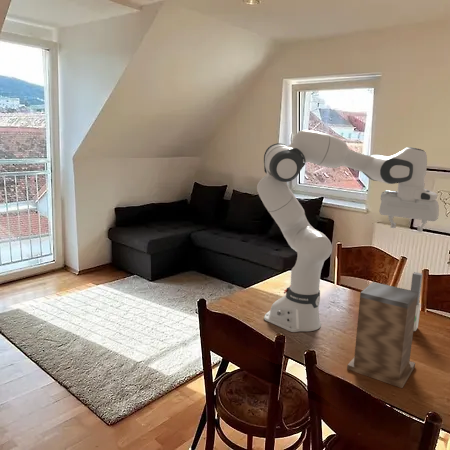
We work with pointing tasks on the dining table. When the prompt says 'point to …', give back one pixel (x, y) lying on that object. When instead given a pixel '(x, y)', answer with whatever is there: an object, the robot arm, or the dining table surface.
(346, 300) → the dining table surface
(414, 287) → the block
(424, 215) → the robot arm
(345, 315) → the dining table surface
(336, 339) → the dining table surface
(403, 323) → the stand
